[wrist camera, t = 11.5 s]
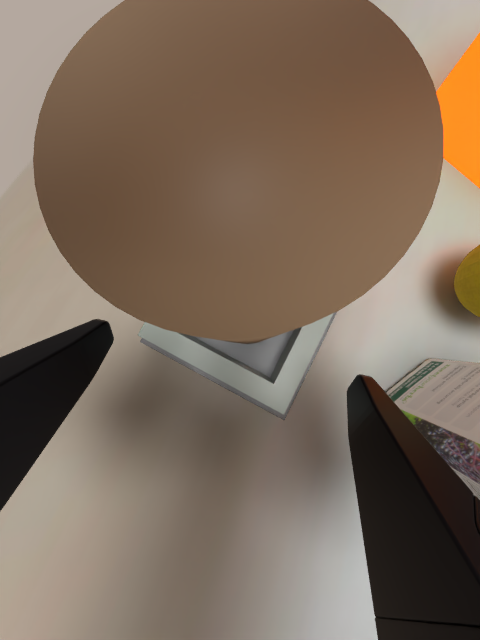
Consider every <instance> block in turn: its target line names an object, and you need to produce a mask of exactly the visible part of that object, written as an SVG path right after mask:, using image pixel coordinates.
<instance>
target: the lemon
mask: <svg viewBox="0 0 480 640" xmlns="http://www.w3.org/2000/svg"><path fill="white" fill-rule="evenodd" d="M454 288H455V293H456V295H457V297H458V300H459V301H460V302H461V304H462V305H463V306H464V307H465V308H466V309H467V310H469V311H470V312H471V313H473V314H474V315H476V316H478V317H480V245H479V246H477V247H476V248H475V249H473V250H472V251H471V252H470V253H469V254H468V255H467V256H466V257H465V258H464V260H463V261H462V262H461V264H460V265H459V267H458V269H457V272H456V274H455V278H454Z"/></svg>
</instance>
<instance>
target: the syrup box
mask: <svg viewBox="0 0 480 640" xmlns="http://www.w3.org/2000/svg"><path fill="white" fill-rule="evenodd" d="M386 394H387V395H388V396H389V397H390V398H391V399H392V400H393V402H394V403H395V404H396V405H397V406H398V407H399V408H400V410H401V411H402V412H403V413H404V414H405V415H406V416H407V418H408V419H409V420H410V421H411V422H412V423H413V424H414V426H415V427H416V428H417V429H418V430H419V431H420V432H421V434H422V435H423V436H424V437H425V438H426V439H427V440H428V442H429V443H430V444H431V445H432V446H433V447H434V448H435V450H436V451H437V452H438V453H439V454H440V455H441V456H442V458H443V459H444V460H445V461H446V462H447V463H448V464H449V466H450V467H451V468H452V469H453V470H454V471H455V472H456V474H457V475H458V476H459V477H460V478H461V479H462V480H463V482H464V483H465V484H466V485H467V486H468V487H469V488H470V490H471V491H472V492H473V495H475V496H477V497H478V499H479V500H480V363H472V362H462V361H453V360H444V359H434V358H431V359H427V360H426V361H425V362H423V363H422V365H420V366H419V367H418V368H416V369H415V370H414V371H413V372H411V373H410V374H408V375H407V376H406V377H405V378H403V379H402V380H401V381H400V382H399V383H397V384H396V385H395V386H394V387H392V388H391V389H390V390H389V391H387V392H386Z"/></svg>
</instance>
